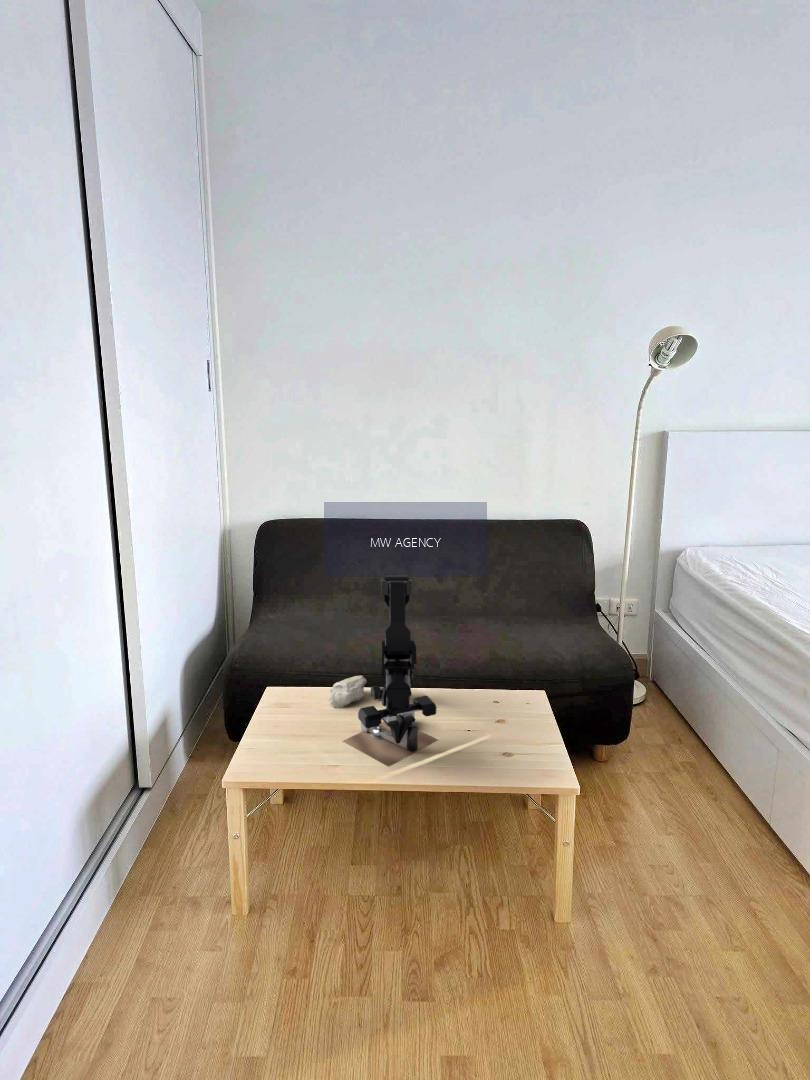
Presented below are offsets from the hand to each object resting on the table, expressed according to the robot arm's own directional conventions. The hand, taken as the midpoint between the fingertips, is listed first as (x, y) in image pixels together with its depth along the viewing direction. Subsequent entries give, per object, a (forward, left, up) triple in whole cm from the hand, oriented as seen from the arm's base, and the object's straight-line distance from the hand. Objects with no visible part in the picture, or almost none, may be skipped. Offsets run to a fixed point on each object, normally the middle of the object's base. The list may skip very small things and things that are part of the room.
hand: (397, 742), depth 181 cm
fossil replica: (-10, -31, -4) cm, 33 cm away
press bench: (-4, -6, -4) cm, 8 cm away
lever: (-3, -6, -3) cm, 7 cm away
